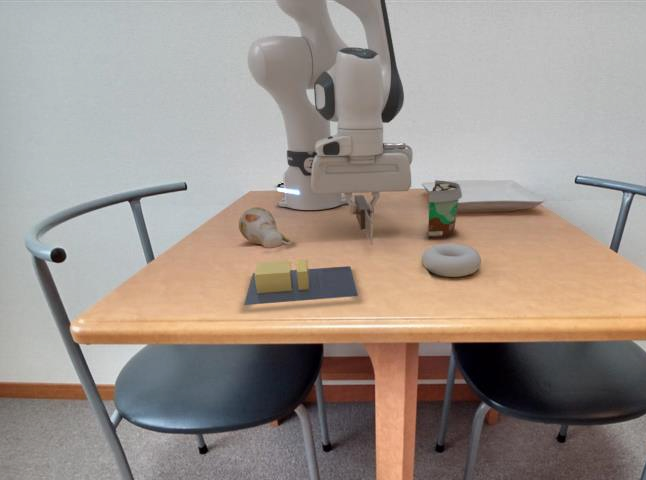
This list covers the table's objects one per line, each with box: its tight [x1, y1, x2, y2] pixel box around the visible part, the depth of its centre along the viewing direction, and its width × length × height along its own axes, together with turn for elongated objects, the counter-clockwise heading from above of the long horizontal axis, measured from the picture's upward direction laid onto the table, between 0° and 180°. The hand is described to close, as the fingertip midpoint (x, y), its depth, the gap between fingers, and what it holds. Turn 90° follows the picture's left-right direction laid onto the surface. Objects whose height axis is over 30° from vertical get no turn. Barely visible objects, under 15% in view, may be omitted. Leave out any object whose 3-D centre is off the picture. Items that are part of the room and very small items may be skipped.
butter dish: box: [243, 259, 359, 306], centre depth 66 cm, size 12×16×4 cm
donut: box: [421, 243, 482, 278], centre depth 73 cm, size 10×3×10 cm
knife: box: [354, 194, 374, 246], centre depth 86 cm, size 21×2×4 cm, turn 9°
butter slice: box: [296, 258, 309, 290], centre depth 66 cm, size 5×2×3 cm, turn 10°
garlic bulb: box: [238, 206, 293, 249], centre depth 85 cm, size 8×10×10 cm
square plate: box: [421, 179, 546, 214], centre depth 116 cm, size 27×27×4 cm
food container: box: [427, 179, 462, 240], centre depth 90 cm, size 12×6×10 cm, turn 168°
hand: (362, 213), depth 90 cm, fingers closed on knife, 2 cm apart
